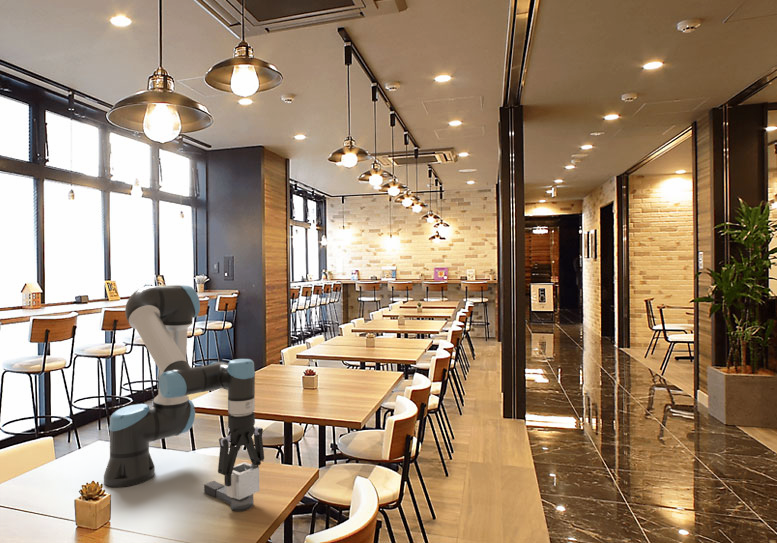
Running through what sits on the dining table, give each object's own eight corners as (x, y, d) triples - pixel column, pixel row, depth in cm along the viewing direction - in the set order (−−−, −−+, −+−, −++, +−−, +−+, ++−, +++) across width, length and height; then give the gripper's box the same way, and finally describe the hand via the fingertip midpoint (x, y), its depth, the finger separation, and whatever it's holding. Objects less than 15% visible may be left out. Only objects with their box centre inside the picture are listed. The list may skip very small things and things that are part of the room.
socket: (224, 493, 141) (224, 469, 141) (244, 484, 146) (244, 461, 146) (239, 499, 137) (239, 475, 137) (259, 491, 142) (259, 467, 142)
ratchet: (199, 494, 149) (199, 466, 149) (218, 487, 154) (217, 460, 154) (239, 513, 137) (239, 483, 137) (257, 505, 142) (257, 476, 142)
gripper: (219, 423, 131) (219, 508, 131) (276, 407, 147) (277, 482, 147) (203, 418, 136) (203, 500, 136) (261, 403, 152) (261, 476, 152)
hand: (242, 491), depth 141 cm, fingers closed on socket, 7 cm apart
